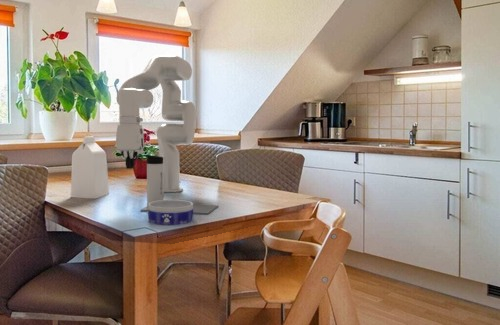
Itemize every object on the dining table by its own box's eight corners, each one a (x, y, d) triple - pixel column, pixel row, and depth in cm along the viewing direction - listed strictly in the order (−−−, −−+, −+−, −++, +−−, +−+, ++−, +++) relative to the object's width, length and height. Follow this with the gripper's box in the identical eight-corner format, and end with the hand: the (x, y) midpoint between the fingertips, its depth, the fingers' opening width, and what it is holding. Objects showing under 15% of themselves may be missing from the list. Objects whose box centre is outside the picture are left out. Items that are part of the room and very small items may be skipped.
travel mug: (145, 205, 186) (144, 154, 184) (161, 204, 188) (161, 153, 186) (147, 208, 180) (147, 155, 178) (165, 206, 182) (164, 155, 180)
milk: (95, 198, 202) (94, 137, 200) (71, 197, 204) (69, 136, 202) (109, 193, 214) (108, 136, 211) (85, 192, 216) (84, 135, 214)
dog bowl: (194, 216, 171) (194, 199, 170) (191, 226, 156) (191, 207, 155) (152, 215, 170) (152, 199, 170) (144, 225, 155) (144, 207, 154)
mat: (155, 203, 192) (155, 202, 192) (218, 206, 187) (218, 205, 187) (140, 211, 177) (140, 209, 177) (207, 214, 172) (207, 213, 172)
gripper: (151, 121, 185) (152, 167, 186) (115, 120, 187) (116, 166, 189) (143, 121, 177) (144, 170, 179) (106, 120, 180) (107, 168, 182)
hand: (130, 168), depth 184 cm, fingers closed
